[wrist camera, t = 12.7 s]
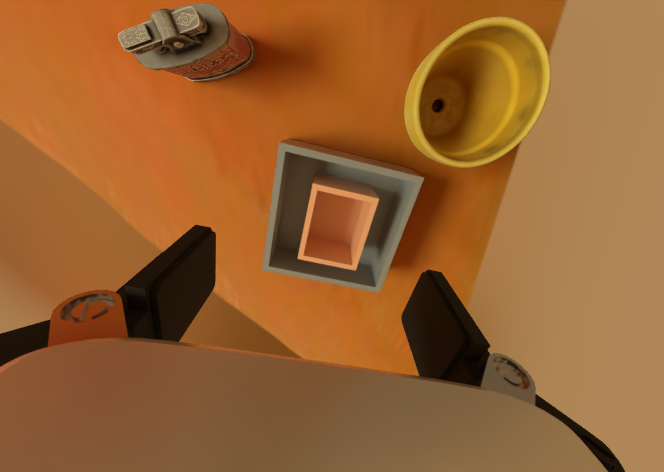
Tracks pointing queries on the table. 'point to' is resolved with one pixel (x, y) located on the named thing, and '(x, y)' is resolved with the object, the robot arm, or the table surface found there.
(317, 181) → the terracotta crate
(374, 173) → the grey crate
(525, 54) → the plant pot
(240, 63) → the lighter
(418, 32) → the table surface
